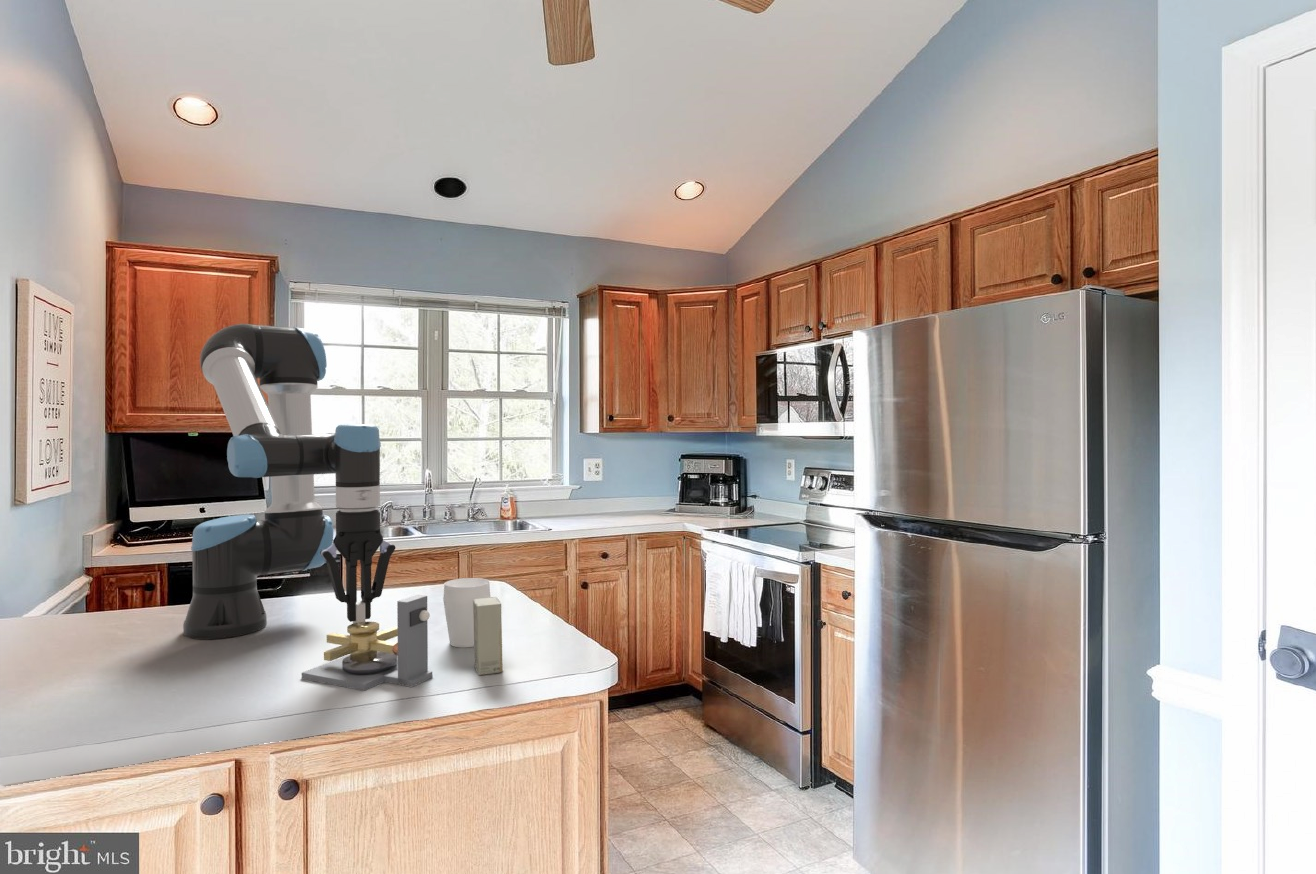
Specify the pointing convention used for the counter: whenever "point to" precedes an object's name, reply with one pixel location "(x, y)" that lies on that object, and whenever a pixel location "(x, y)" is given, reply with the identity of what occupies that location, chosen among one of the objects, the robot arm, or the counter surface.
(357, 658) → the capstan
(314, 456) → the robot arm
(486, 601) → the skincare box
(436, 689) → the counter surface
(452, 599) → the cup
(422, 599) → the stand
